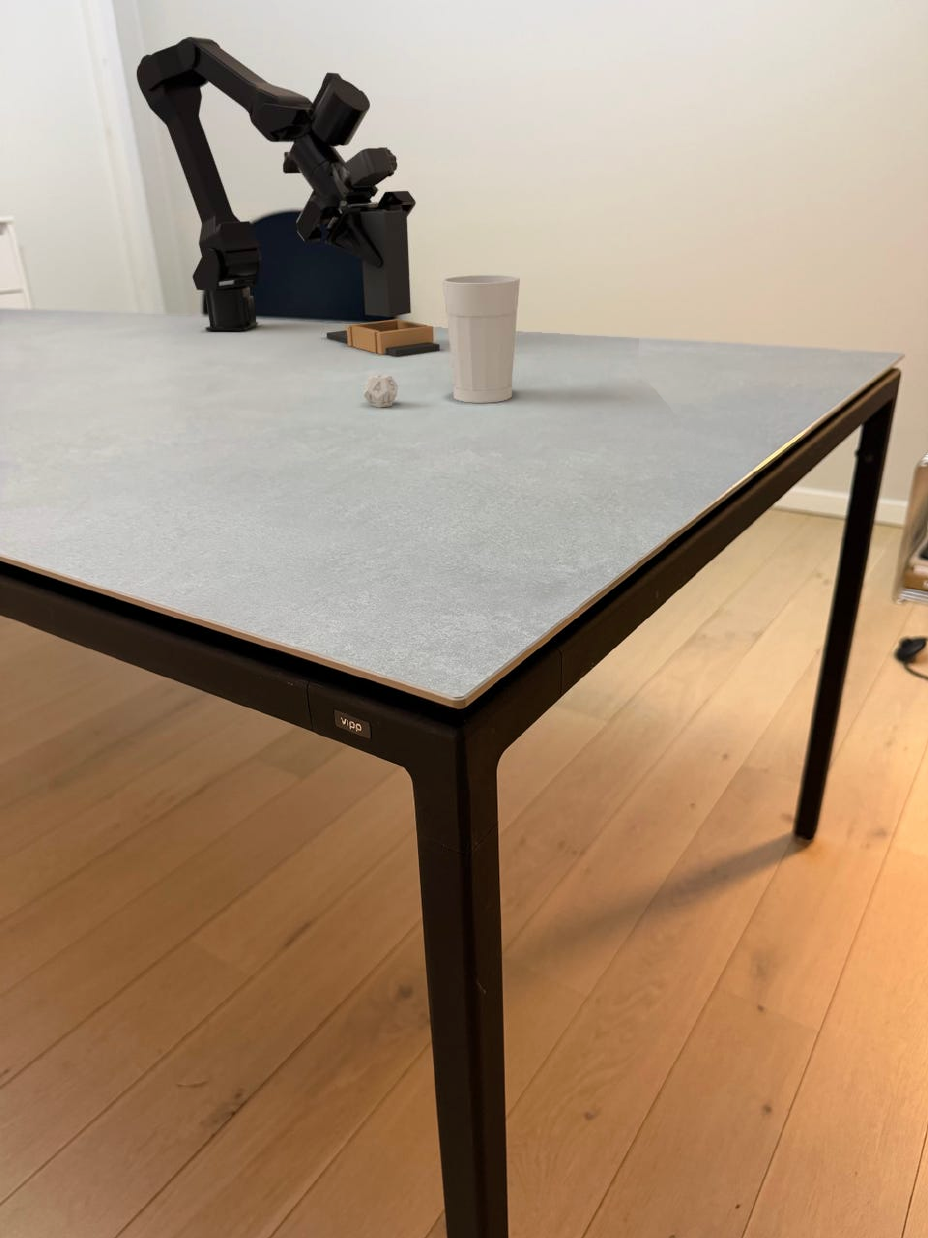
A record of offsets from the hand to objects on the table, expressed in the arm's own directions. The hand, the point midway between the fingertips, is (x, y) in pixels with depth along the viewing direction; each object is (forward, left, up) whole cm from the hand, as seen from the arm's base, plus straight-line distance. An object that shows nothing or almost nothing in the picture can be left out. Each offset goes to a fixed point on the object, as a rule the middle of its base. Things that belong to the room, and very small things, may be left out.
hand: (393, 263), depth 124 cm
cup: (+17, -29, -11) cm, 36 cm away
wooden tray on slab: (-3, +2, -11) cm, 12 cm away
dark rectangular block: (-1, +1, -7) cm, 7 cm away
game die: (+7, -34, -11) cm, 37 cm away
